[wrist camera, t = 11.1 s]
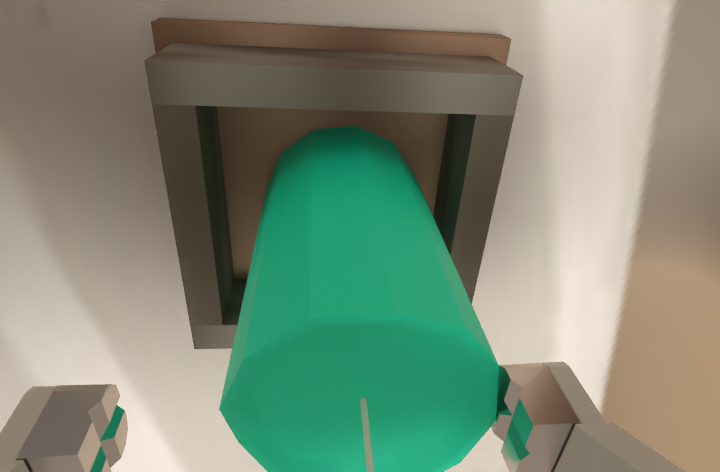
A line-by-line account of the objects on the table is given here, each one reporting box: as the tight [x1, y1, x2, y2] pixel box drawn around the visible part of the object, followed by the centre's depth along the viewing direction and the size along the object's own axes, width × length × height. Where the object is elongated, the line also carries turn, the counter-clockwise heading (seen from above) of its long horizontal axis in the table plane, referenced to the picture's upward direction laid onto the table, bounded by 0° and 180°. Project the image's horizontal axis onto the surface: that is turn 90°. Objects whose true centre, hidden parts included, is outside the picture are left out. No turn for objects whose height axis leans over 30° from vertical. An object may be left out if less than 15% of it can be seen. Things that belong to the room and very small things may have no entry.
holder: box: [145, 18, 523, 349], centre depth 18 cm, size 12×12×4 cm
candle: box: [220, 126, 499, 472], centre depth 14 cm, size 6×6×12 cm
